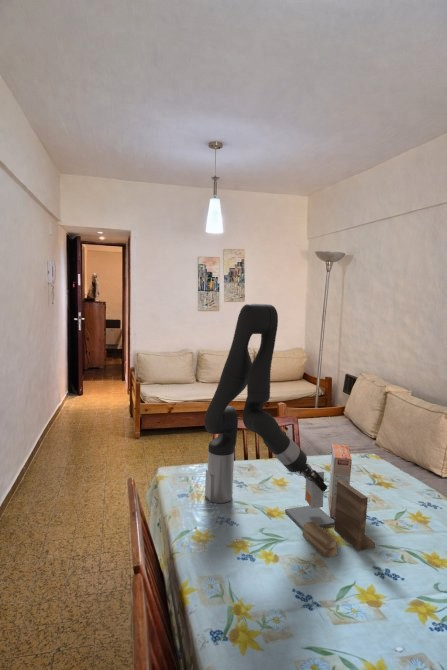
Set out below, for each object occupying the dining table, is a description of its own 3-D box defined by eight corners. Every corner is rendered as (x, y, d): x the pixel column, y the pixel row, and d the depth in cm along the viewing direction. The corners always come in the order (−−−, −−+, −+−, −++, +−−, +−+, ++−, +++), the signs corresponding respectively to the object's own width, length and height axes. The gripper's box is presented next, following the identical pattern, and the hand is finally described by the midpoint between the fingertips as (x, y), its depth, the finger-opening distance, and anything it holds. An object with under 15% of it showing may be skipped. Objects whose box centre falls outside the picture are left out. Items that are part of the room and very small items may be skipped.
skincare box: (304, 499, 144) (305, 465, 144) (316, 499, 145) (318, 464, 144) (310, 508, 138) (312, 472, 138) (323, 507, 139) (324, 471, 138)
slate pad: (303, 530, 134) (303, 527, 134) (285, 512, 145) (285, 509, 145) (335, 525, 138) (335, 522, 138) (315, 507, 149) (315, 504, 149)
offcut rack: (324, 558, 120) (327, 503, 119) (302, 535, 132) (305, 485, 130) (375, 547, 127) (379, 495, 125) (349, 526, 138) (353, 478, 136)
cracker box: (348, 520, 142) (352, 459, 140) (329, 517, 143) (333, 457, 141) (345, 500, 155) (348, 444, 153) (327, 498, 156) (331, 443, 154)
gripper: (309, 452, 131) (339, 484, 136) (285, 438, 144) (312, 468, 149) (294, 471, 129) (324, 503, 134) (270, 455, 142) (299, 485, 148)
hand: (318, 484), depth 142 cm, fingers closed on skincare box, 6 cm apart
